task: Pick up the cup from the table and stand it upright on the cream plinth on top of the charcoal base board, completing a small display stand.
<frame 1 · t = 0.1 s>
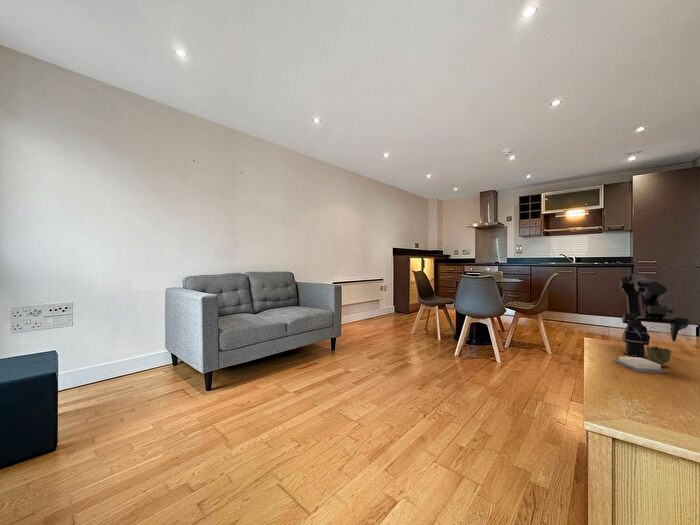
hand: (657, 339, 112), 15 cm above the table, tool tilted 30°, fingers open, 9 cm apart
display stand: (639, 367, 121), on the table
cup: (658, 366, 123), on the table
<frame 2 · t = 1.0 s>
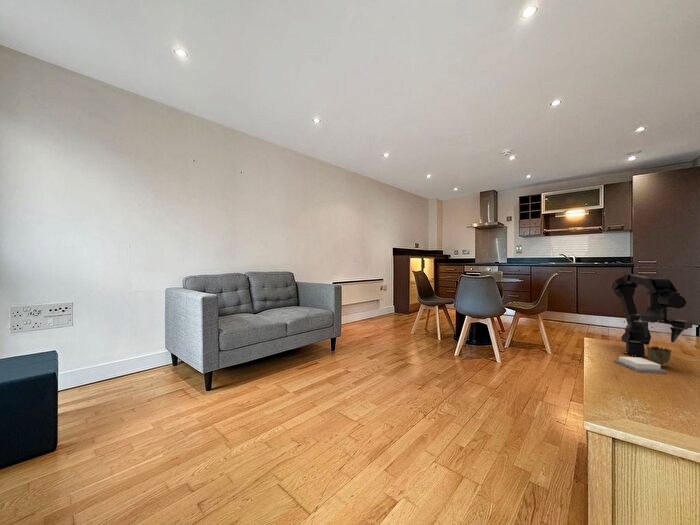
hand: (658, 339, 123), 12 cm above the table, tool pointing down, fingers open, 9 cm apart
nothing on the table moved.
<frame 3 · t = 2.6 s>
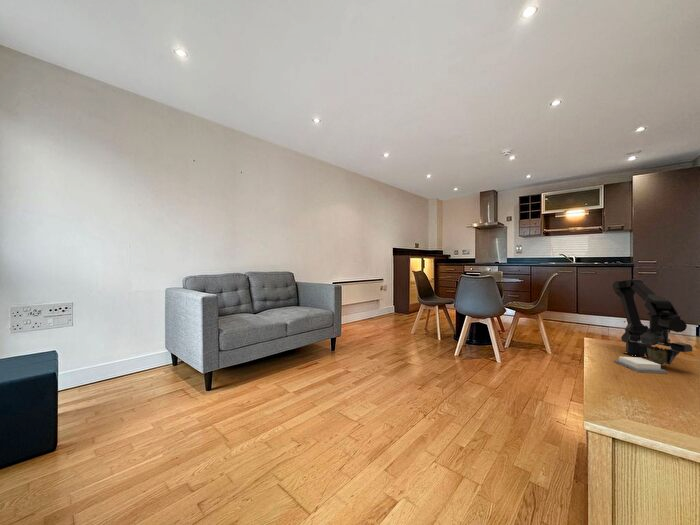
hand: (658, 361, 123), 2 cm above the table, tool pointing down, fingers closed on cup, 6 cm apart
cup: (658, 366, 123), on the table, touching gripper
when the fingers open (7 cm above the table, at t = 6.3 s): cup drops 1 cm, resting on display stand.
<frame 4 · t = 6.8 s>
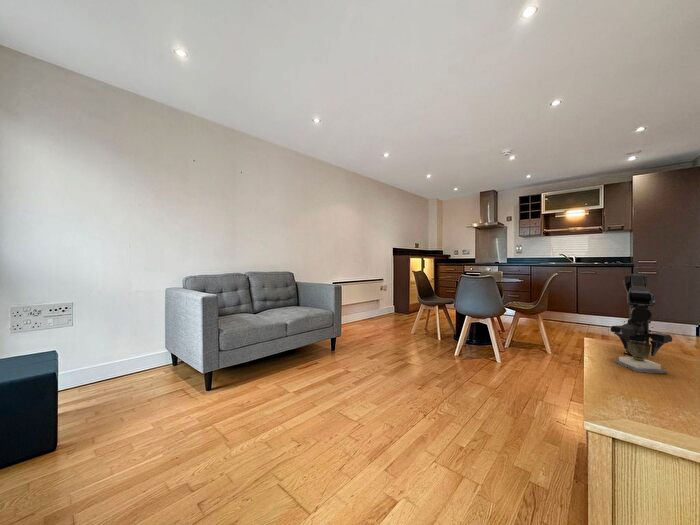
hand: (639, 352, 121), 7 cm above the table, tool pointing down, fingers open, 9 cm apart
cup: (638, 360, 121), point 3 cm above the table, touching display stand
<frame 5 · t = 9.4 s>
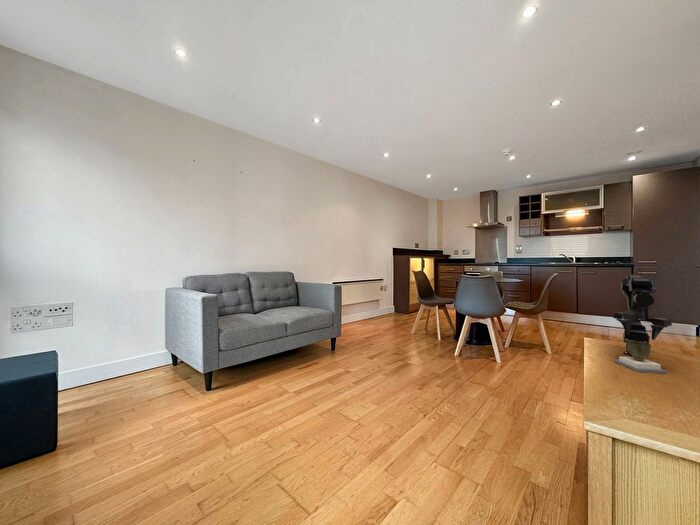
hand: (640, 337, 127), 12 cm above the table, tool pointing down, fingers open, 9 cm apart
nothing on the table moved.
at the end: cup 0.3 cm off-centre on the display stand, point 3.0 cm above the display stand's base; cup tilted 0°; the gripper is holding nothing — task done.
